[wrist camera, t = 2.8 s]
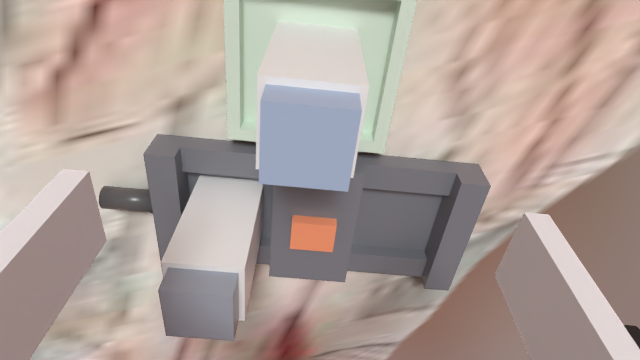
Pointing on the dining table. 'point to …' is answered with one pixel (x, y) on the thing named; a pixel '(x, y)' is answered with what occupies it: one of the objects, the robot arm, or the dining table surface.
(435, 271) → the strip
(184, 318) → the twin plug
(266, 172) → the plug
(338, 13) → the tray
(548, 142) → the dining table surface
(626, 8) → the dining table surface
